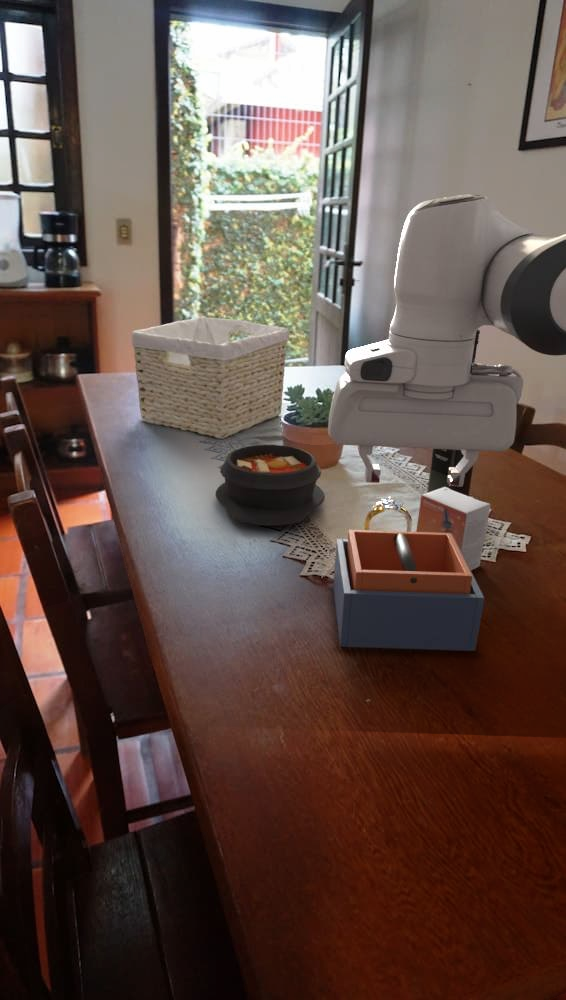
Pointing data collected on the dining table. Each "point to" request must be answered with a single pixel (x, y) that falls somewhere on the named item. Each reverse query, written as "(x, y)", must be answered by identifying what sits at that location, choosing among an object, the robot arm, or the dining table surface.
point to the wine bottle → (449, 461)
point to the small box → (456, 520)
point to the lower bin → (404, 615)
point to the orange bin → (406, 562)
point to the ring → (388, 505)
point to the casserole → (270, 485)
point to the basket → (210, 374)
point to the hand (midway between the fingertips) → (413, 482)
